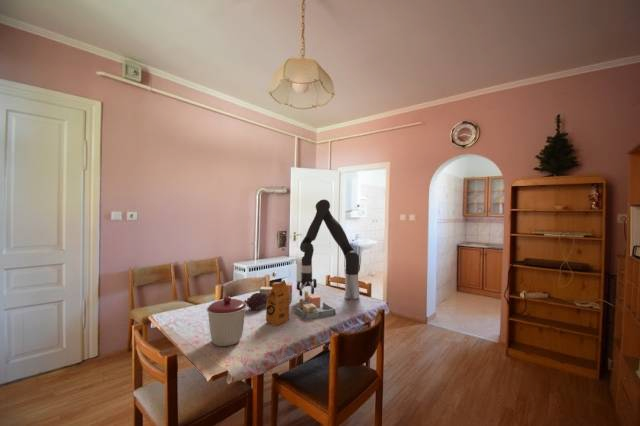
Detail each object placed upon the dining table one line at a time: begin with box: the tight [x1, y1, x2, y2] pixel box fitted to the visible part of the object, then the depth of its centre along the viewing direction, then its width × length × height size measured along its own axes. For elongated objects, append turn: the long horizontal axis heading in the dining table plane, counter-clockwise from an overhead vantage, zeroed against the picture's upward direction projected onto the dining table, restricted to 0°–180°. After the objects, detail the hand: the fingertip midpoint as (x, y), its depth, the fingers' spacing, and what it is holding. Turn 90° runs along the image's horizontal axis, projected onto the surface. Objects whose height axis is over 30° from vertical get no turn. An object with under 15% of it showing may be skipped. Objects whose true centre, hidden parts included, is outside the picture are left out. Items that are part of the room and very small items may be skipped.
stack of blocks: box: [259, 282, 293, 304], centre depth 187 cm, size 21×6×12 cm, turn 91°
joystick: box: [303, 290, 321, 308], centre depth 184 cm, size 6×16×6 cm, turn 27°
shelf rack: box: [295, 302, 336, 321], centre depth 167 cm, size 20×14×3 cm
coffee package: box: [265, 279, 291, 326], centre depth 153 cm, size 10×12×22 cm
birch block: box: [298, 298, 318, 314], centre depth 167 cm, size 6×16×6 cm, turn 28°
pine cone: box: [243, 292, 268, 311], centre depth 172 cm, size 18×10×10 cm, turn 132°
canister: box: [205, 295, 248, 347], centre depth 129 cm, size 18×18×21 cm
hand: (306, 294), depth 190 cm, fingers open, 8 cm apart
